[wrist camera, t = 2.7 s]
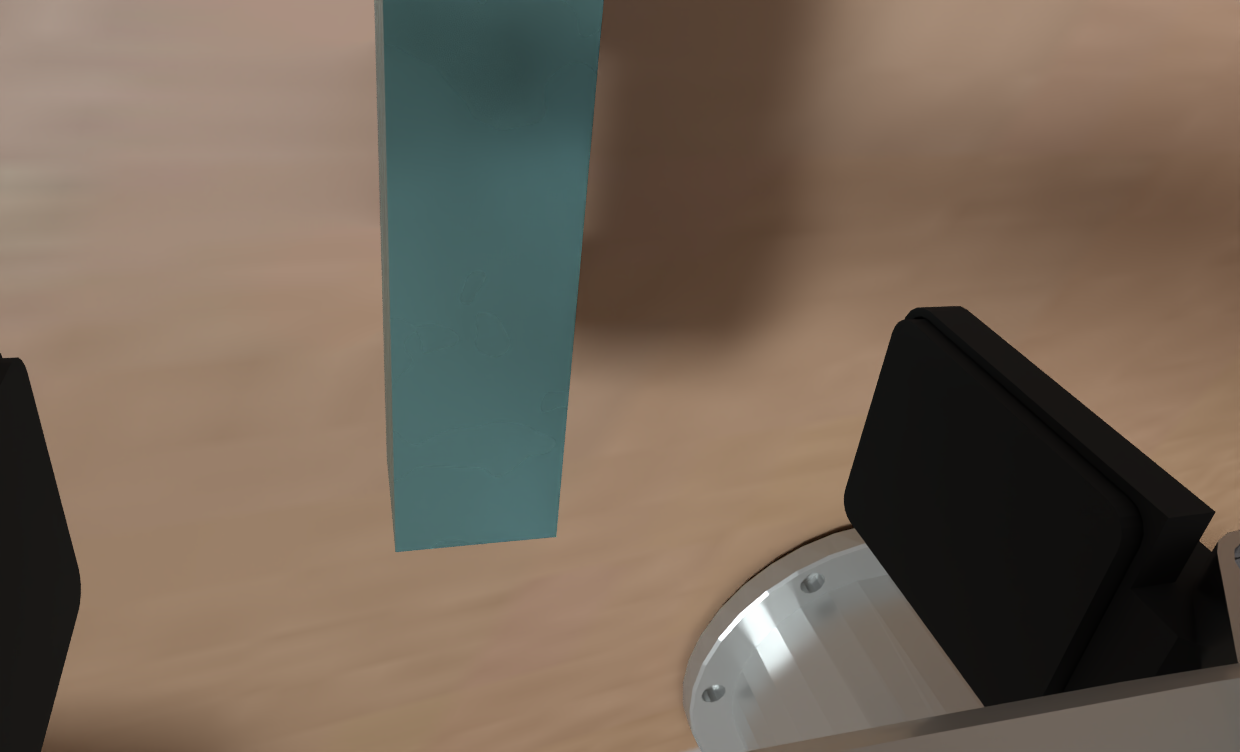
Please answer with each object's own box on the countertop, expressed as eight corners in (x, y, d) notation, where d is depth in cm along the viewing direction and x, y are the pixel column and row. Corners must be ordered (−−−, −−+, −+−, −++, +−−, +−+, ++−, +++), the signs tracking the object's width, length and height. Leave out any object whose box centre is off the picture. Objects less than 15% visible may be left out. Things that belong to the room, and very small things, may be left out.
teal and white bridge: (512, -109, 19) (609, -64, 13) (494, 339, 24) (555, 537, 18) (361, -125, 18) (381, -85, 12) (376, 342, 24) (395, 551, 17)
